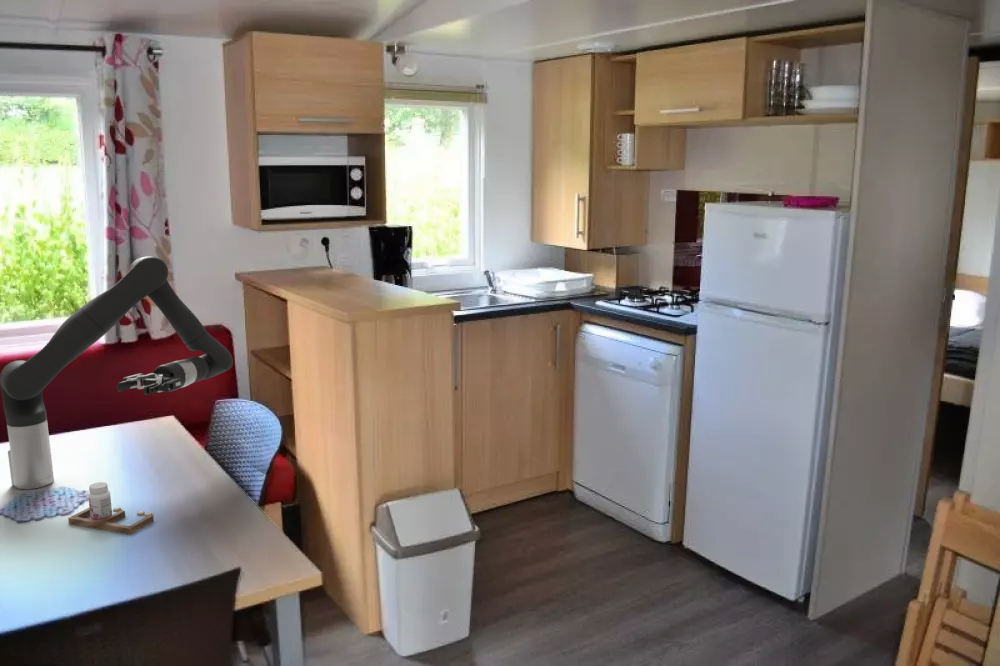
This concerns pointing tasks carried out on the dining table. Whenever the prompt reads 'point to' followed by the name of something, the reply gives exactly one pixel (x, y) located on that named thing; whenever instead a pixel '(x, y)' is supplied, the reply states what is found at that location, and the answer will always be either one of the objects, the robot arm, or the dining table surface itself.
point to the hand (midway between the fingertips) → (131, 389)
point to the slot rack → (111, 521)
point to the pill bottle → (99, 501)
